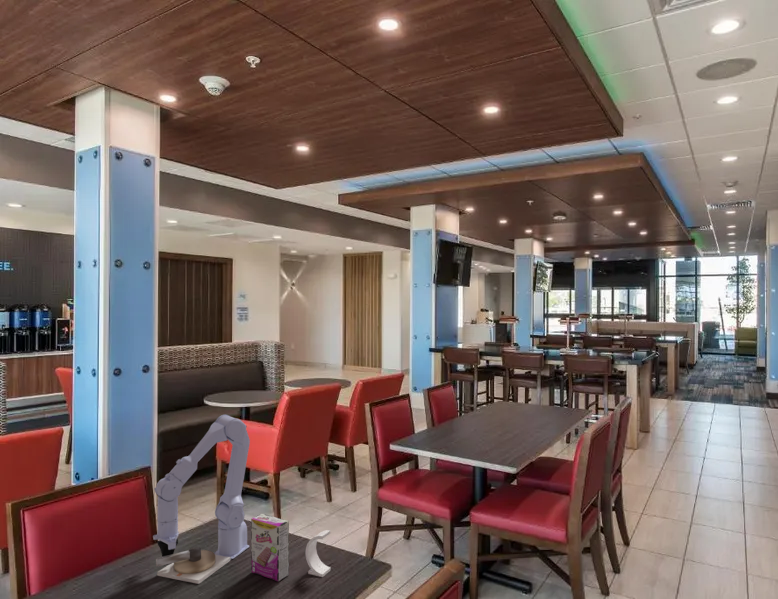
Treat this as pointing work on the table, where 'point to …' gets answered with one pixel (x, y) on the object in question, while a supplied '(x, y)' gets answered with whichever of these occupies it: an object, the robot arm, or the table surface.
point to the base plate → (193, 577)
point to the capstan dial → (189, 560)
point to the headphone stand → (316, 556)
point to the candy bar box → (270, 547)
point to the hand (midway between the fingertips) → (167, 564)
